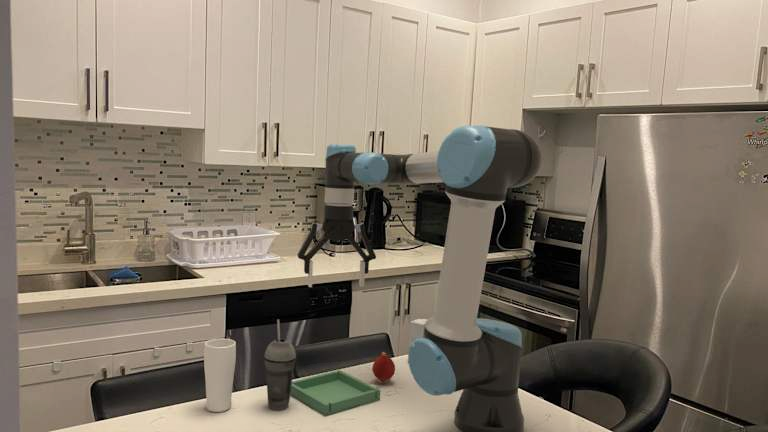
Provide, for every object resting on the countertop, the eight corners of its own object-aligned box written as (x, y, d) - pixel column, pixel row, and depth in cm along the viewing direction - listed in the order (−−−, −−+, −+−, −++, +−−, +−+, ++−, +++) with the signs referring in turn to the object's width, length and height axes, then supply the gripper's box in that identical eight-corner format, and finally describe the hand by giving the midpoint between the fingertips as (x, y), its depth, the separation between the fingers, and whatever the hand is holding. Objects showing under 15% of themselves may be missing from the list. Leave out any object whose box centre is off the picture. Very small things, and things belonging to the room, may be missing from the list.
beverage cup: (275, 416, 132) (278, 327, 130) (255, 405, 137) (258, 319, 135) (301, 407, 137) (304, 321, 135) (281, 397, 142) (284, 314, 140)
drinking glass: (217, 417, 130) (219, 349, 129) (196, 408, 134) (197, 343, 132) (240, 407, 136) (242, 342, 134) (219, 399, 139) (221, 336, 138)
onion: (395, 379, 158) (396, 349, 157) (393, 387, 152) (394, 356, 151) (373, 377, 158) (374, 348, 157) (370, 385, 152) (371, 355, 152)
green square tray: (379, 399, 144) (380, 389, 144) (325, 416, 133) (325, 405, 133) (339, 379, 156) (339, 370, 156) (286, 392, 145) (286, 382, 145)
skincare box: (420, 367, 168) (423, 324, 167) (406, 363, 171) (409, 321, 170) (431, 361, 173) (433, 320, 172) (417, 358, 176) (419, 317, 175)
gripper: (382, 204, 162) (379, 282, 163) (288, 202, 156) (286, 283, 157) (389, 207, 154) (385, 288, 156) (291, 204, 148) (288, 289, 150)
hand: (335, 286), depth 157 cm, fingers open, 13 cm apart
